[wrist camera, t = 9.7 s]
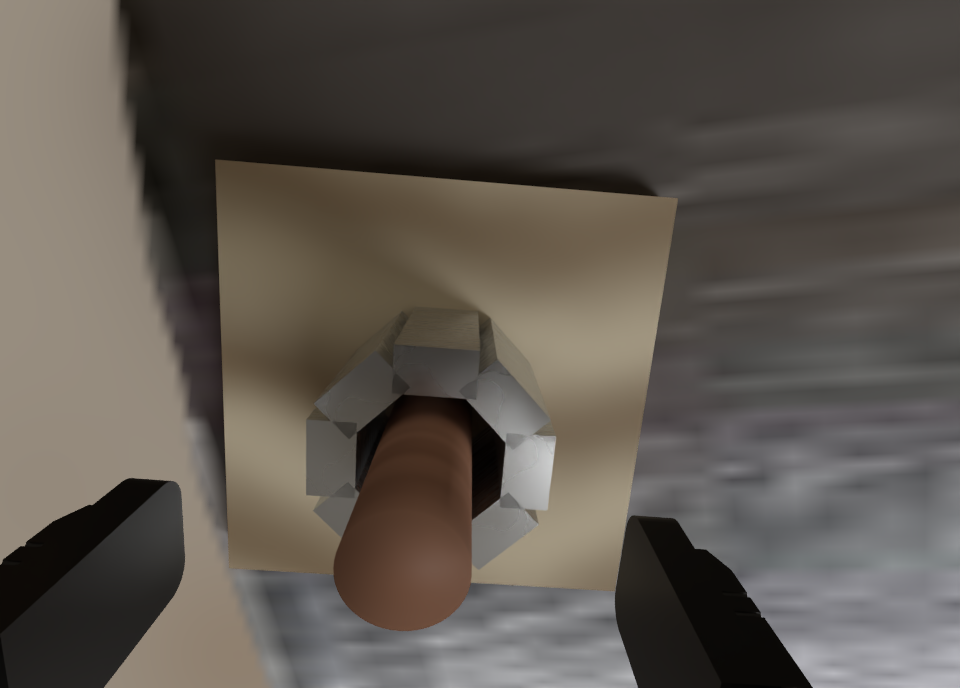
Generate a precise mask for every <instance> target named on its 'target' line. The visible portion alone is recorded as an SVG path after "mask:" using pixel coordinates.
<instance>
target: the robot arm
mask: <svg viewBox="0 0 960 688" xmlns="http://www.w3.org/2000/svg"><path fill="white" fill-rule="evenodd" d="M184 563H185V552H184V533H183V516H182V499H181V491H180V488H179V485H178V484H177V483H176V482H174V481H163V480H149V479H135V478H129V479H126V480H124V481H123V482H121V483H120V484H119V485H117V486H116V487H115V488H114V489H113V490H111V491H110V492H109V493H107V494H106V495H105V496H104V497H102V498H101V499H100V500H99V501H97V502H96V503H95V504H94V505H88V506H85V507H83V508H81V509H79V510H77V511H75V512H73V513H70V514H68V515H66V516H64V517H62V518H60V519H58V520H55V521H53V522H52V523H51V524H49V525H48V526H47V527H45V528H44V529H43V530H42V531H40V532H39V533H37V534H36V535H35V536H34V537H32V538H31V539H30V540H28V541H27V542H26V545H25V547H24V546H20V547H19V548H18V549H16V550H15V551H14V552H12V553H11V554H10V555H8V556H7V557H6V558H4V559H3V562H2V564H1V565H0V688H104V687H105V685H106V684H107V683H108V681H109V680H110V679H111V678H112V676H113V675H114V674H115V672H116V671H117V670H118V668H119V667H120V666H121V664H122V663H123V662H124V660H125V659H126V658H127V657H128V655H129V654H130V653H131V651H132V650H133V649H134V647H135V646H136V645H137V644H138V642H139V641H140V640H141V638H142V637H143V636H144V634H145V633H146V632H147V630H148V629H149V628H150V627H151V625H152V624H153V623H154V621H155V620H156V619H157V617H158V616H159V615H160V613H161V612H162V611H163V610H164V608H165V607H166V605H167V604H168V603H169V602H170V600H171V599H172V598H173V596H174V595H175V593H176V591H177V589H178V587H179V584H180V581H181V579H182V575H183V571H184V565H185V564H184ZM615 611H616V619H617V625H618V628H619V632H620V635H621V638H622V641H623V644H624V647H625V650H626V653H627V656H628V659H629V662H630V664H631V667H632V670H633V673H634V676H635V679H636V682H637V685H638V688H813V687H812V686H811V684H810V683H809V682H808V680H807V679H806V677H805V676H804V674H803V673H802V671H801V670H800V669H799V667H798V666H797V664H796V663H795V661H794V660H793V658H792V657H791V656H790V654H789V653H788V651H787V650H786V648H785V647H784V645H783V644H782V643H781V641H780V640H779V638H778V637H777V635H776V634H775V632H774V631H773V630H772V628H771V627H770V625H769V624H768V622H767V621H766V620H765V618H761V612H760V611H759V609H758V608H757V607H756V605H755V604H754V602H753V601H752V599H751V598H749V597H747V592H746V591H745V589H744V588H743V586H742V585H741V583H740V582H739V581H738V579H737V578H736V576H735V575H734V573H733V572H732V570H731V569H729V568H728V567H727V566H726V565H724V564H723V563H722V562H721V561H719V560H718V559H717V558H716V557H714V556H713V555H712V554H711V553H709V552H708V551H707V550H703V549H695V548H694V547H693V545H692V544H691V542H690V540H689V539H688V537H687V536H686V534H685V533H684V531H683V529H682V528H681V526H680V525H679V523H678V522H677V520H675V519H673V518H661V517H647V516H631V517H630V519H629V521H628V523H627V527H626V532H625V538H624V544H623V550H622V556H621V562H620V567H619V573H618V579H617V585H616V592H615Z"/></svg>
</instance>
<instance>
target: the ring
mask: <svg viewBox="0 0 960 688" xmlns="http://www.w3.org/2000/svg"><path fill="white" fill-rule="evenodd" d="M402 394H404V395H418V396H433V397H447V398H461V399H466V400H467V401H468V402H469V403H470V404H471V405H472V406H473V407H474V409H475V410H476V411H477V412H478V413H479V414H480V415H481V416H482V417H483V418H484V420H485V421H486V422H487V423H488V424H489V426H487V427H486V428H485V429H484V430H482V431H481V432H480V433H479V434H477V435H476V436H475V437H474V438H472V564H473V565H474V566H475V567H476V568H477V569H478V570H479V569H481V568H482V567H483V566H485V565H486V564H487V563H489V562H490V561H491V560H493V559H494V558H495V557H497V556H498V555H499V554H501V553H502V552H503V551H505V550H506V549H507V548H509V547H510V546H511V545H513V544H514V543H515V542H517V541H518V540H519V539H521V538H522V537H523V536H525V535H526V534H527V533H529V532H530V531H531V530H533V529H534V528H535V527H536V526H538V525H539V524H538V519H537V514H536V510H547V509H548V500H549V492H550V484H551V476H552V467H553V459H554V451H555V442H556V435H555V432H554V429H553V426H552V424H551V421H550V420H551V419H550V416H549V413H548V410H547V408H546V405H545V402H544V400H543V397H542V394H541V392H540V389H539V386H538V384H537V381H536V378H535V375H534V373H533V370H532V367H531V365H530V362H529V361H528V360H527V359H526V358H525V357H524V355H523V354H522V353H521V352H520V351H519V350H518V349H517V347H516V346H515V345H514V344H513V343H512V342H511V340H510V339H509V338H508V337H507V336H506V335H505V334H504V332H503V331H502V330H501V329H500V328H499V327H498V325H497V324H496V323H495V322H494V321H493V320H492V319H491V317H490V318H489V319H488V320H487V321H485V322H484V323H483V324H482V325H481V326H479V320H478V311H470V310H457V309H444V308H430V307H417V306H415V308H414V310H413V312H412V313H411V315H410V317H409V318H408V317H407V315H406V314H405V313H404V312H403V311H401V312H400V313H399V314H398V315H397V316H396V317H394V318H393V319H392V320H391V321H390V322H389V323H387V324H386V325H385V326H384V327H383V328H382V329H381V330H379V331H378V332H377V333H376V334H375V335H374V336H372V337H371V338H370V339H369V340H368V341H367V342H366V343H364V344H363V345H362V346H361V347H360V348H359V349H357V350H356V352H355V353H354V354H353V355H352V357H351V358H350V359H349V360H348V362H347V363H346V364H345V365H344V367H343V368H342V369H341V370H340V372H339V373H338V374H337V375H336V376H335V378H334V379H333V380H332V381H331V383H330V384H329V385H328V386H327V388H326V389H325V390H324V391H323V393H322V394H321V395H320V396H319V398H318V399H317V400H316V401H315V403H314V405H315V406H316V408H315V409H314V410H313V412H312V413H311V414H310V415H309V417H308V418H307V419H306V495H310V496H320V498H319V500H318V502H317V504H316V506H315V508H314V510H313V511H314V512H315V513H316V514H317V515H318V516H319V517H320V518H321V519H322V520H323V521H324V522H325V523H326V524H327V525H328V526H329V527H331V528H332V529H333V530H334V531H335V532H336V533H337V534H338V535H339V536H340V537H341V538H342V536H343V534H344V531H345V529H346V526H347V523H348V521H349V518H350V516H351V513H352V511H353V508H354V506H355V503H356V501H357V498H358V495H359V493H360V490H361V488H362V485H363V483H364V480H365V478H366V475H367V473H368V470H369V468H370V465H371V462H372V460H373V457H374V455H375V452H376V450H377V447H378V445H379V442H380V440H381V437H382V434H383V432H384V429H385V427H386V424H387V422H388V419H389V417H388V416H387V415H386V408H387V407H388V406H389V405H390V404H392V403H393V402H394V401H395V400H396V399H398V398H399V397H400V396H401V395H402Z"/></svg>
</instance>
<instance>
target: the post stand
mask: <svg viewBox="0 0 960 688" xmlns="http://www.w3.org/2000/svg"><path fill="white" fill-rule="evenodd" d="M215 169H216V199H217V228H218V257H219V286H220V315H221V344H222V373H223V403H224V432H225V461H226V490H227V519H228V548H229V568H235V569H252V570H269V571H285V572H302V573H319V574H334V580H335V585H336V587H337V590H338V592H339V594H340V596H341V598H342V600H343V601H344V602H345V604H346V605H347V606H348V607H349V608H350V609H351V610H352V611H353V612H354V613H355V614H356V615H358V616H359V617H360V618H362V619H363V620H365V621H367V622H369V623H371V624H373V625H375V626H378V627H381V628H385V629H389V630H397V631H412V630H419V629H423V628H427V627H430V626H433V625H435V624H437V623H439V622H441V621H443V620H444V619H446V618H447V617H449V616H450V615H451V614H452V613H453V612H455V611H456V609H457V608H458V607H459V606H460V605H461V603H462V602H463V600H464V599H465V597H466V595H467V593H468V590H469V587H470V584H471V583H486V584H503V585H520V586H536V587H553V588H570V589H587V590H603V591H615V586H616V579H617V573H618V567H619V561H620V555H621V548H622V542H623V536H624V530H625V524H626V517H627V511H628V505H629V499H630V493H631V486H632V480H633V474H634V468H635V462H636V455H637V449H638V443H639V437H640V431H641V424H642V418H643V412H644V406H645V400H646V394H647V387H648V381H649V375H650V369H651V363H652V356H653V350H654V344H655V338H656V332H657V325H658V319H659V313H660V307H661V301H662V294H663V288H664V282H665V276H666V270H667V263H668V257H669V251H670V245H671V239H672V232H673V226H674V220H675V214H676V208H677V201H678V198H667V197H655V196H643V195H631V194H620V193H608V192H596V191H584V190H572V189H560V188H548V187H536V186H524V185H513V184H501V183H489V182H477V181H465V180H453V179H441V178H429V177H417V176H406V175H394V174H382V173H370V172H358V171H346V170H334V169H322V168H310V167H298V166H287V165H275V164H263V163H251V162H239V161H227V160H215ZM415 306H417V307H430V308H444V309H457V310H470V311H478V320H479V326H481V325H482V324H483V323H484V322H485V321H487V320H488V319H489V318H490V317H491V319H492V320H493V321H494V322H495V323H496V324H497V325H498V327H499V328H500V329H501V330H502V331H503V332H504V334H505V335H506V336H507V337H508V338H509V339H510V340H511V342H512V343H513V344H514V345H515V346H516V347H517V349H518V350H519V351H520V352H521V353H522V354H523V355H524V357H525V358H526V359H527V360H528V361H529V362H530V365H531V367H532V370H533V373H534V375H535V378H536V381H537V384H538V386H539V389H540V392H541V394H542V397H543V400H544V402H545V405H546V408H547V410H548V413H549V416H550V419H551V420H550V421H551V424H552V426H553V429H554V432H555V435H556V442H555V451H554V459H553V467H552V476H551V484H550V492H549V500H548V509H547V510H536V514H537V519H538V524H539V525H538V526H536V527H535V528H534V529H533V530H531V531H530V532H529V533H527V534H526V535H525V536H523V537H522V538H521V539H519V540H518V541H517V542H515V543H514V544H513V545H511V546H510V547H509V548H507V549H506V550H505V551H503V552H502V553H501V554H499V555H498V556H497V557H495V558H494V559H493V560H491V561H490V562H489V563H487V564H486V565H485V566H483V567H482V568H481V569H479V570H478V569H477V568H476V567H475V566H474V565H473V564H472V438H474V437H475V436H476V435H477V434H479V433H480V432H481V431H482V430H484V429H485V428H486V427H487V426H489V424H488V423H487V422H486V421H485V420H484V418H483V417H482V416H481V415H480V414H479V413H478V412H477V411H476V410H475V409H474V407H473V406H472V405H471V404H470V403H469V402H468V401H467V400H466V399H461V398H447V397H433V396H418V395H404V394H402V395H401V396H400V397H399V398H398V399H396V400H395V401H394V402H393V403H392V404H390V405H389V406H388V407H387V408H386V415H387V416H388V417H389V419H388V422H387V424H386V427H385V429H384V432H383V434H382V437H381V440H380V442H379V445H378V447H377V450H376V452H375V455H374V457H373V460H372V462H371V465H370V468H369V470H368V473H367V475H366V478H365V480H364V483H363V485H362V488H361V490H360V493H359V495H358V498H357V501H356V503H355V506H354V508H353V511H352V513H351V516H350V518H349V521H348V523H347V526H346V529H345V531H344V534H343V536H342V538H341V537H340V536H339V535H338V534H337V533H336V532H335V531H334V530H333V529H332V528H331V527H329V526H328V525H327V524H326V523H325V522H324V521H323V520H322V519H321V518H320V517H319V516H318V515H317V514H316V513H315V512H314V511H313V510H314V508H315V506H316V504H317V502H318V500H319V498H320V496H310V495H306V419H307V418H308V417H309V415H310V414H311V413H312V412H313V410H314V409H315V408H316V406H315V405H314V403H315V401H316V400H317V399H318V398H319V396H320V395H321V394H322V393H323V391H324V390H325V389H326V388H327V386H328V385H329V384H330V383H331V381H332V380H333V379H334V378H335V376H336V375H337V374H338V373H339V372H340V370H341V369H342V368H343V367H344V365H345V364H346V363H347V362H348V360H349V359H350V358H351V357H352V355H353V354H354V353H355V352H356V350H357V349H359V348H360V347H361V346H362V345H363V344H364V343H366V342H367V341H368V340H369V339H370V338H371V337H372V336H374V335H375V334H376V333H377V332H378V331H379V330H381V329H382V328H383V327H384V326H385V325H386V324H387V323H389V322H390V321H391V320H392V319H393V318H394V317H396V316H397V315H398V314H399V313H400V312H401V311H403V312H404V313H405V314H406V315H407V317H408V318H409V317H410V315H411V313H412V312H413V310H414V308H415Z"/></svg>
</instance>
